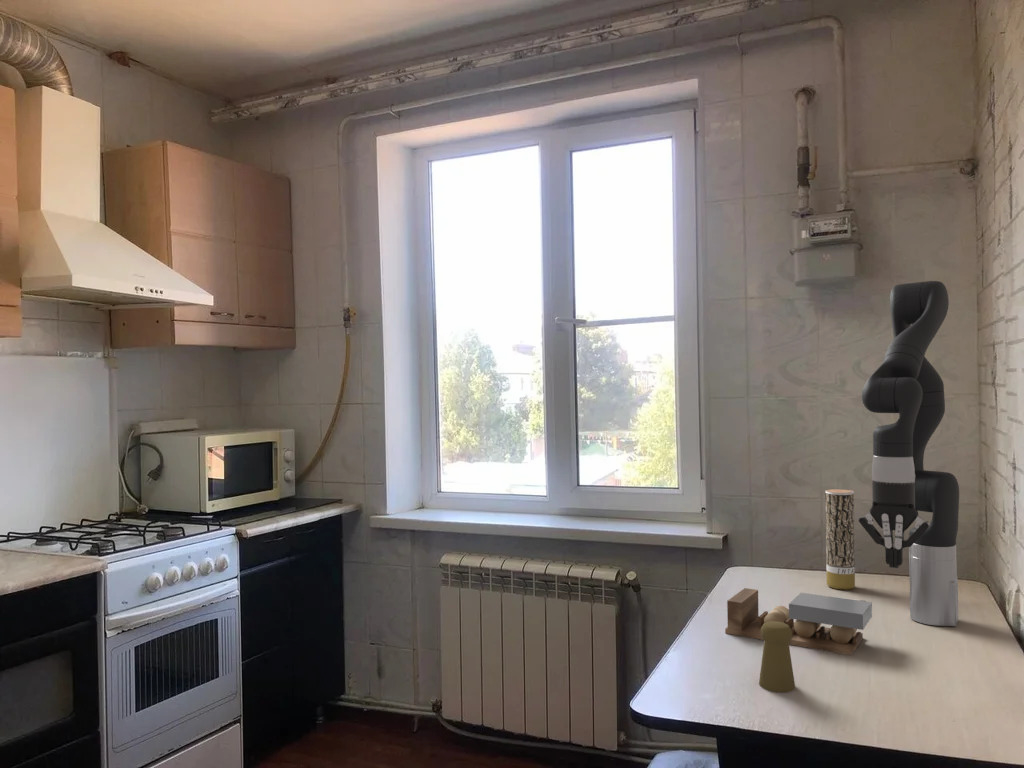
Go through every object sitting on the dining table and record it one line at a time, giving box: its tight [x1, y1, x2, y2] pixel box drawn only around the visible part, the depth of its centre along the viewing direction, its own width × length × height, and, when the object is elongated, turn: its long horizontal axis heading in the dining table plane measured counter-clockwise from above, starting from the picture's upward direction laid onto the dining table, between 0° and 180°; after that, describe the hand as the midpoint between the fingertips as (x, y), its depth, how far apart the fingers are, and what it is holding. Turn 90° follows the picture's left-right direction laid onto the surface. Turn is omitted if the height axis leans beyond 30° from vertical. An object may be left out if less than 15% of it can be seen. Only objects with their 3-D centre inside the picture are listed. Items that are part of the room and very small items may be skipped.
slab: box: [788, 592, 873, 631], centre depth 156 cm, size 14×10×3 cm
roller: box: [764, 605, 789, 623], centre depth 162 cm, size 4×6×4 cm, turn 146°
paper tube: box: [824, 488, 856, 591], centre depth 198 cm, size 7×7×25 cm
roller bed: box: [724, 587, 864, 656], centre depth 161 cm, size 25×12×7 cm, turn 56°
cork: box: [758, 621, 796, 693], centre depth 134 cm, size 6×6×11 cm
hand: (894, 566), depth 150 cm, fingers closed
